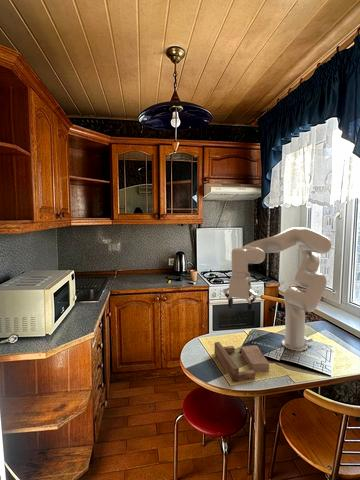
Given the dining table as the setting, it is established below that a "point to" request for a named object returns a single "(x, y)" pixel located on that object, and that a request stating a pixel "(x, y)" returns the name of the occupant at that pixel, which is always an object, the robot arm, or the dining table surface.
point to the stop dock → (231, 364)
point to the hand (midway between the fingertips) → (240, 308)
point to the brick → (255, 359)
